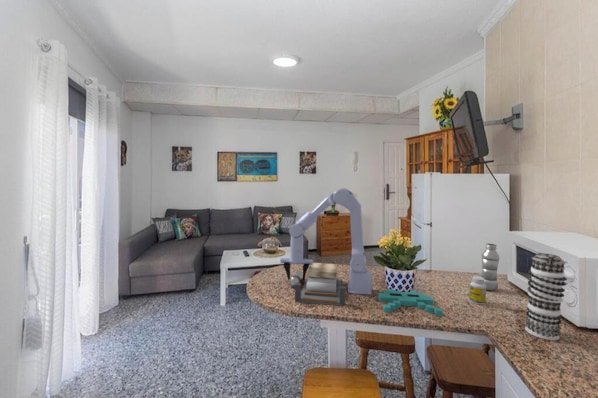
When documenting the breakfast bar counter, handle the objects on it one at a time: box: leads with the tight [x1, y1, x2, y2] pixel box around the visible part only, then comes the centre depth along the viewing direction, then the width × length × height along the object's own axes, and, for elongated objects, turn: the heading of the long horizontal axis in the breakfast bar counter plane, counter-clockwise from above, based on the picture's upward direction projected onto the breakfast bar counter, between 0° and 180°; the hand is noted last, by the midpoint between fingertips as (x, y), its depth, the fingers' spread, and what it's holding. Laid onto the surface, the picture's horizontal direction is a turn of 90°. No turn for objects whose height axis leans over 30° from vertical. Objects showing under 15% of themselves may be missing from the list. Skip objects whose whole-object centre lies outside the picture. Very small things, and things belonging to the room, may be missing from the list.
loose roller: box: [289, 269, 303, 288], centre depth 131 cm, size 12×4×4 cm, turn 172°
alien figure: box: [377, 288, 444, 317], centre depth 113 cm, size 20×2×20 cm
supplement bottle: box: [468, 275, 487, 306], centre depth 114 cm, size 5×5×10 cm
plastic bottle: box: [480, 243, 500, 292], centre depth 126 cm, size 6×7×20 cm
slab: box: [308, 262, 338, 278], centre depth 130 cm, size 12×12×2 cm
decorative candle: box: [524, 252, 568, 341], centre depth 91 cm, size 9×9×25 cm
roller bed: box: [294, 275, 346, 306], centre depth 123 cm, size 19×28×6 cm
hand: (296, 279), depth 131 cm, fingers open, 6 cm apart
